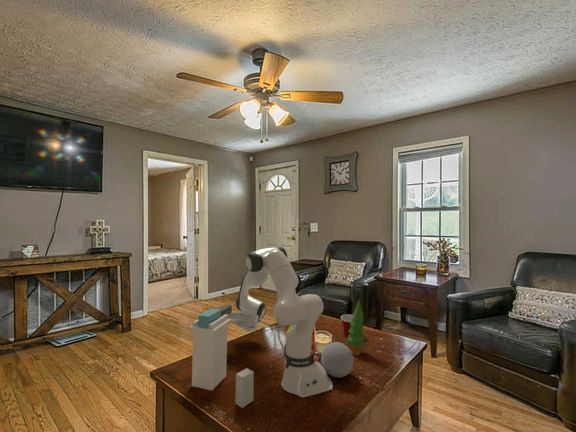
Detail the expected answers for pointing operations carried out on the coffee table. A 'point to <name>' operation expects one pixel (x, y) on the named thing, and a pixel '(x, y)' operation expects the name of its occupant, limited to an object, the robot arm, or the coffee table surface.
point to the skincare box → (244, 387)
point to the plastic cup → (346, 323)
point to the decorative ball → (337, 359)
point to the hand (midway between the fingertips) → (233, 313)
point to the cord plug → (213, 315)
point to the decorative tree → (356, 330)
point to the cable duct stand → (209, 353)
